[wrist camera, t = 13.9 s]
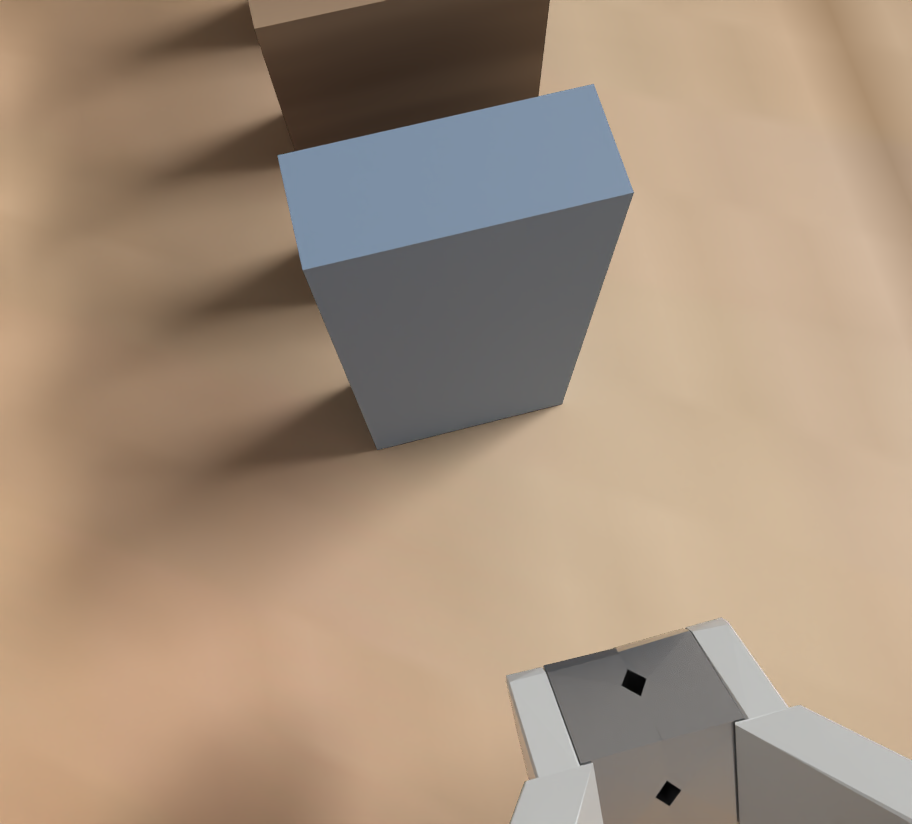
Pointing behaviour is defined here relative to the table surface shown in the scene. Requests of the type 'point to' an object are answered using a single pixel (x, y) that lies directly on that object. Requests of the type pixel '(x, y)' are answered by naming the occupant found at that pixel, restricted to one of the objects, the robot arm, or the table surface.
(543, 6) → the domino
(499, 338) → the domino
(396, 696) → the table surface
